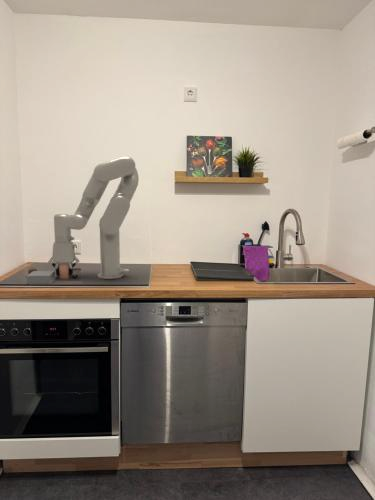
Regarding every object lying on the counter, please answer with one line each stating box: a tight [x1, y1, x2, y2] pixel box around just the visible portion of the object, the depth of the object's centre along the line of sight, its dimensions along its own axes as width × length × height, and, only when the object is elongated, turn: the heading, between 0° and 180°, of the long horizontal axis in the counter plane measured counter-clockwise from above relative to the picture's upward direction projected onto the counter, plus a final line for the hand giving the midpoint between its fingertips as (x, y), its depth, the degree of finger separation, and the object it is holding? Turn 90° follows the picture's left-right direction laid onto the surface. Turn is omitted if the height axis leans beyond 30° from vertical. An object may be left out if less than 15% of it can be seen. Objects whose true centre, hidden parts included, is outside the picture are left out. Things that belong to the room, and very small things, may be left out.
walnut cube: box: [27, 267, 38, 275], centre depth 174 cm, size 4×4×4 cm
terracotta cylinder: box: [58, 263, 71, 280], centre depth 172 cm, size 5×5×7 cm
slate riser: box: [26, 270, 56, 285], centre depth 165 cm, size 10×10×4 cm
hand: (64, 275), depth 173 cm, fingers closed on terracotta cylinder, 5 cm apart
